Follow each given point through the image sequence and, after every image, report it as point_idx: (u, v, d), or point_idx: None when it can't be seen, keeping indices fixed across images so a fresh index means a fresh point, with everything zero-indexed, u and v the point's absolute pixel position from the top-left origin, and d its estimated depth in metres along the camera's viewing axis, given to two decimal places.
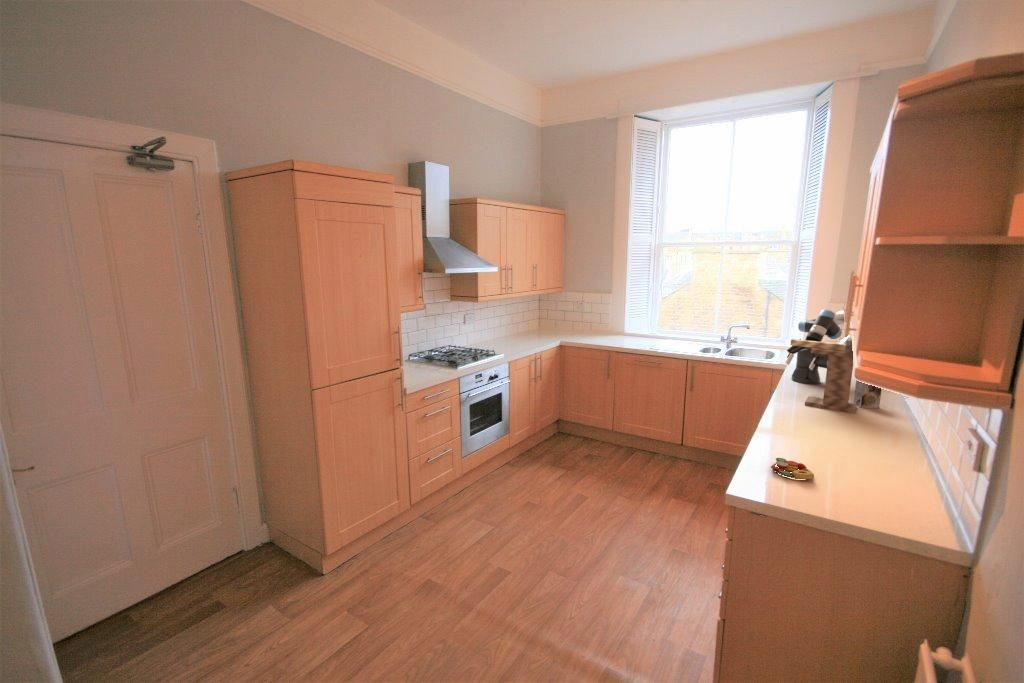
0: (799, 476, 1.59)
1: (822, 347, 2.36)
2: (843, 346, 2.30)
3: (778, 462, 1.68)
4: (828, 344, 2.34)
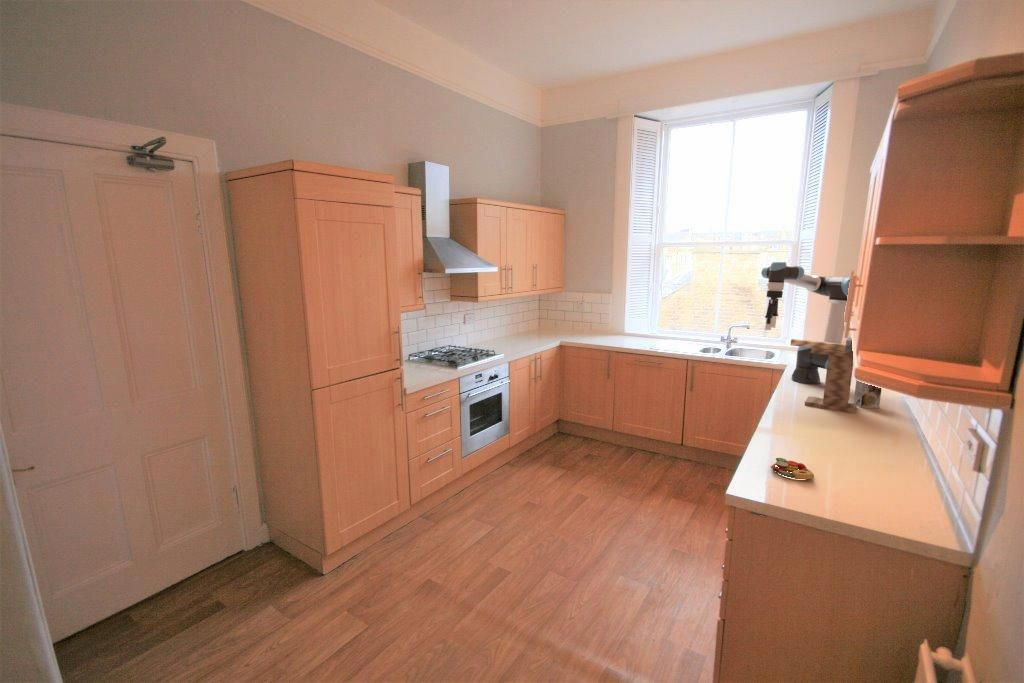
0: (799, 476, 1.59)
1: (822, 347, 2.36)
2: (843, 346, 2.30)
3: (778, 462, 1.68)
4: (828, 344, 2.34)
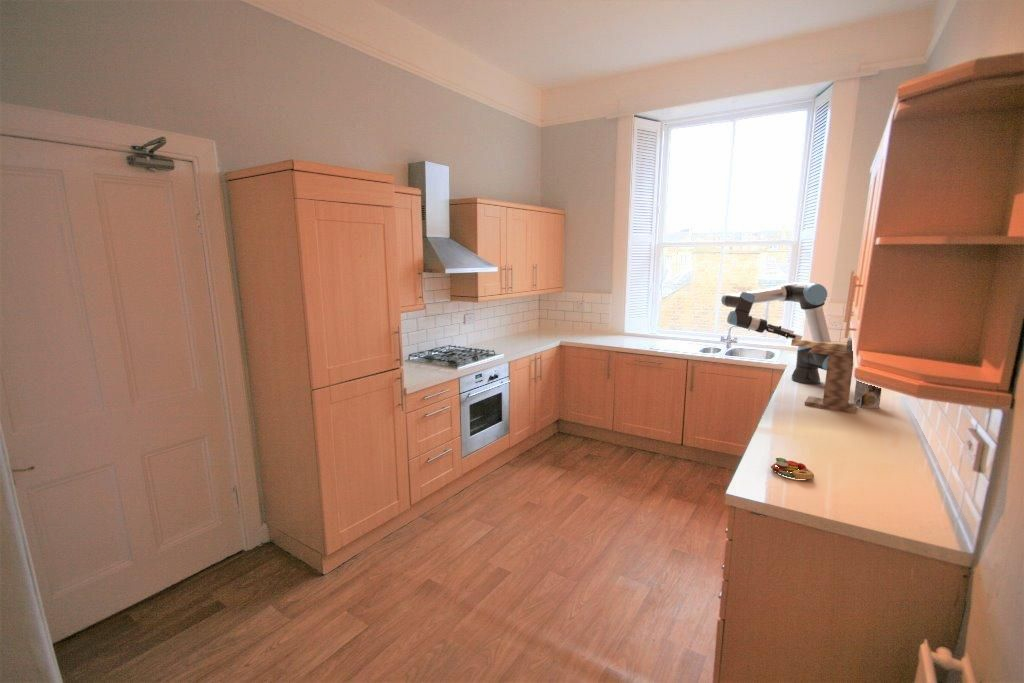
0: (799, 476, 1.59)
1: (823, 347, 2.35)
2: (844, 346, 2.30)
3: (778, 462, 1.68)
4: (829, 344, 2.34)
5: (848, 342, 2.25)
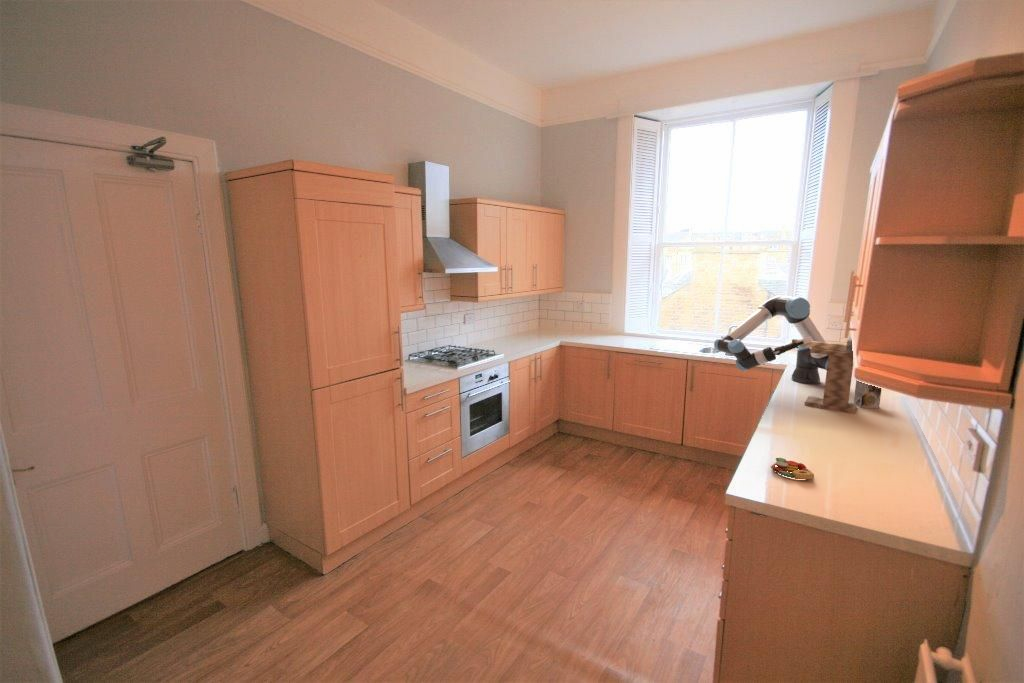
0: (799, 476, 1.59)
1: (823, 347, 2.35)
2: (844, 346, 2.30)
3: (778, 462, 1.68)
4: (829, 344, 2.34)
5: (848, 342, 2.25)
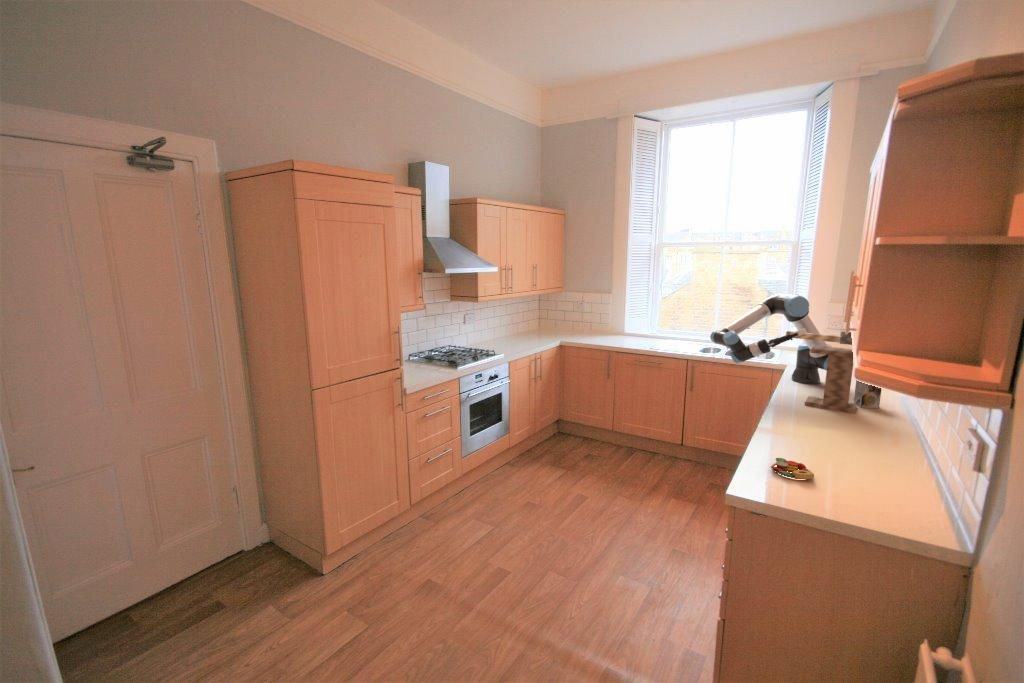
0: (799, 476, 1.59)
1: (817, 339, 2.37)
2: (838, 338, 2.31)
3: (778, 462, 1.68)
4: (823, 336, 2.35)
5: (842, 333, 2.27)
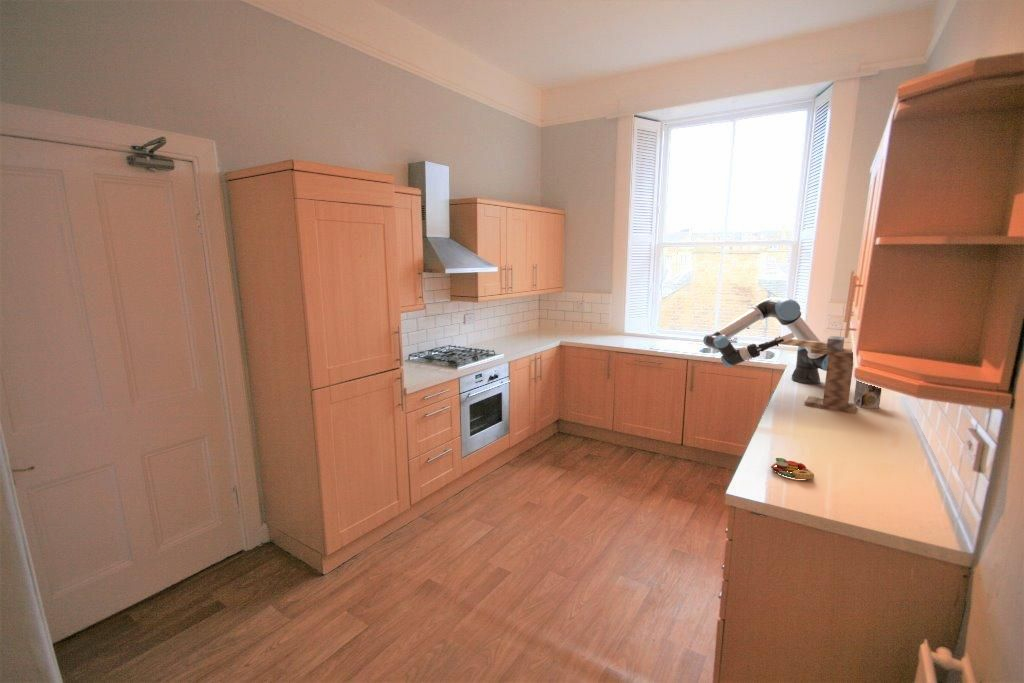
0: (799, 476, 1.59)
1: (805, 345, 2.41)
2: (825, 344, 2.35)
3: (778, 462, 1.68)
4: (810, 342, 2.39)
5: (828, 340, 2.31)
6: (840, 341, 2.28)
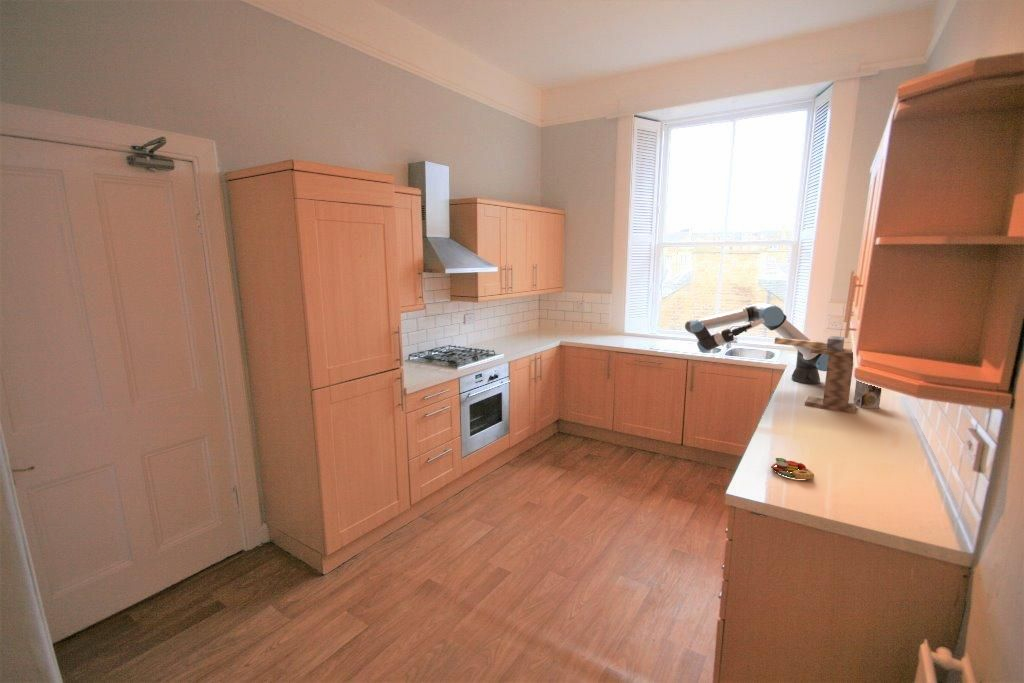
0: (799, 476, 1.59)
1: (805, 345, 2.41)
2: (825, 344, 2.35)
3: (778, 462, 1.68)
4: (810, 342, 2.39)
5: (828, 340, 2.31)
6: (840, 341, 2.28)
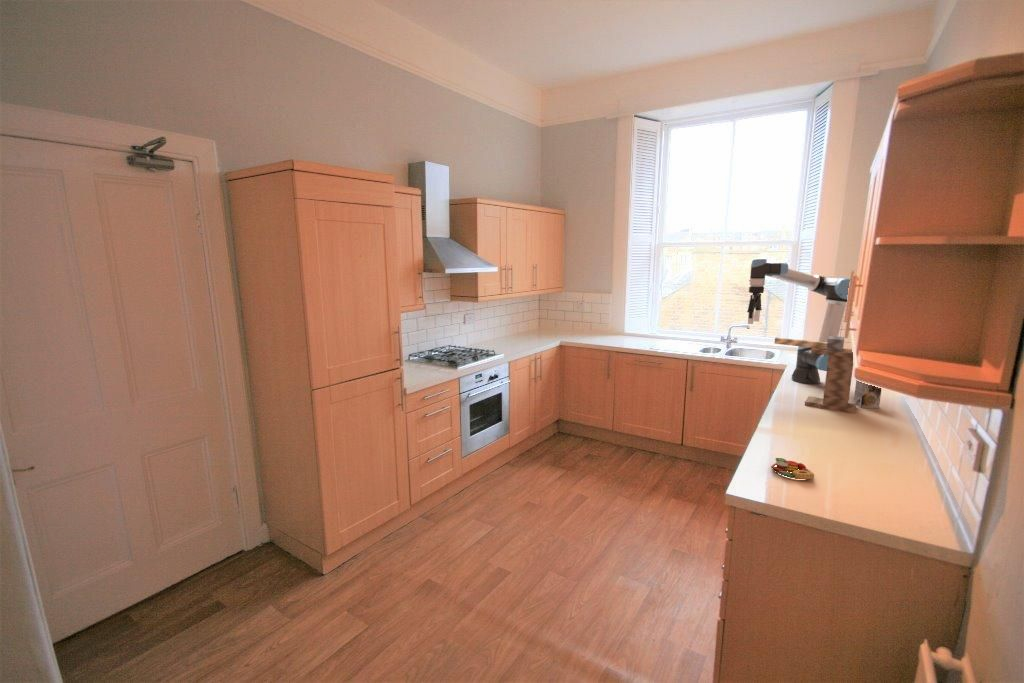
0: (799, 476, 1.59)
1: (805, 345, 2.41)
2: (825, 344, 2.35)
3: (778, 462, 1.68)
4: (810, 342, 2.39)
5: (828, 340, 2.31)
6: (840, 341, 2.28)
